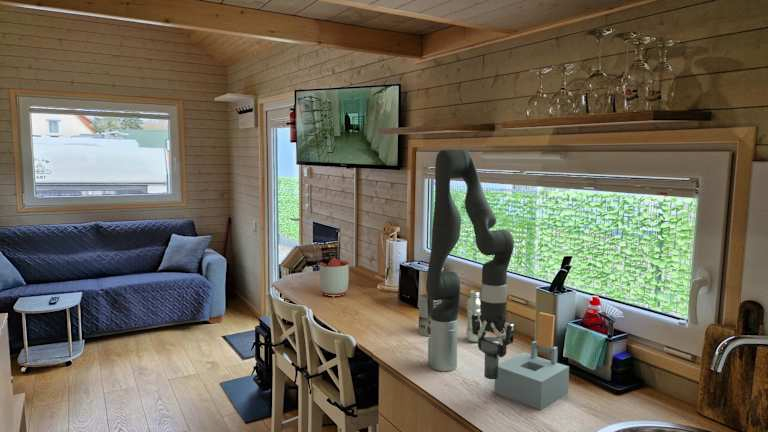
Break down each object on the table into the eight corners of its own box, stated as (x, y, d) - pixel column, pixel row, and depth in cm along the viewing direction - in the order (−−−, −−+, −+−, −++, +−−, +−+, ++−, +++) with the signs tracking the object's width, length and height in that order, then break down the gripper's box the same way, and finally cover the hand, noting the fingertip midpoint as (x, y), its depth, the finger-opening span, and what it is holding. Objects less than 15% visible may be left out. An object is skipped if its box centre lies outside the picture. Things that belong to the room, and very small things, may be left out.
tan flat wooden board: (538, 312, 168) (541, 312, 169) (535, 349, 169) (538, 348, 170) (553, 316, 164) (555, 315, 165) (550, 353, 165) (552, 352, 166)
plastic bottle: (470, 344, 205) (471, 294, 203) (463, 338, 212) (463, 290, 209) (485, 343, 207) (486, 293, 205) (477, 337, 213) (478, 288, 211)
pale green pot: (336, 288, 291) (335, 252, 289) (355, 295, 278) (354, 257, 275) (311, 293, 281) (311, 256, 279) (330, 300, 268) (330, 261, 265)
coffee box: (429, 337, 214) (429, 298, 212) (418, 333, 219) (418, 295, 217) (444, 332, 219) (445, 294, 217) (433, 328, 224) (434, 291, 222)
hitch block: (494, 392, 164) (495, 350, 163) (522, 377, 175) (523, 337, 174) (540, 410, 153) (542, 365, 151) (568, 392, 164) (569, 350, 162)
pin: (475, 376, 158) (476, 340, 156) (488, 369, 162) (489, 335, 161) (493, 383, 153) (494, 346, 152) (506, 376, 157) (507, 341, 156)
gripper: (465, 295, 157) (464, 349, 159) (507, 306, 147) (505, 363, 149) (481, 290, 162) (479, 343, 164) (522, 300, 152) (520, 356, 154)
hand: (491, 352), depth 157 cm, fingers closed on pin, 6 cm apart
